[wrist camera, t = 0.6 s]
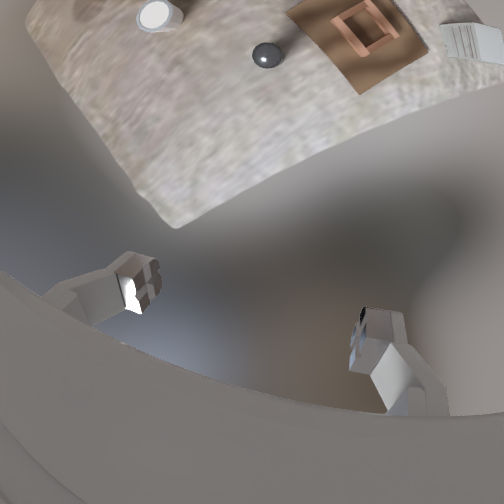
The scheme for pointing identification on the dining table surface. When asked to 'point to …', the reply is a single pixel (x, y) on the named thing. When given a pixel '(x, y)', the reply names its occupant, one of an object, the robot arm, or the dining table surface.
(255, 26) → the dining table surface
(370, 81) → the keeper board
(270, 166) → the dining table surface
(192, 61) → the dining table surface
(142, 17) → the shot glass
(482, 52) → the supplement box
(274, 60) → the peg
